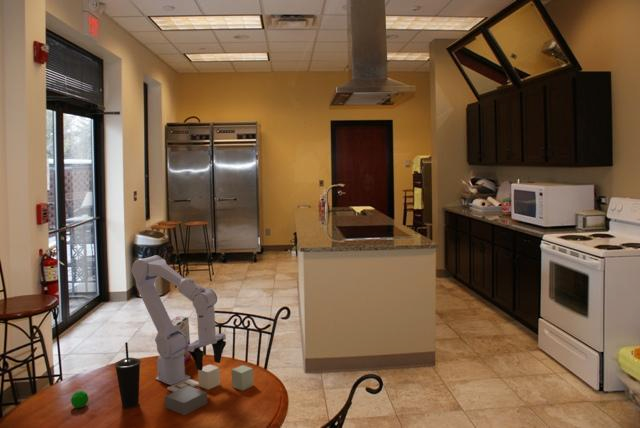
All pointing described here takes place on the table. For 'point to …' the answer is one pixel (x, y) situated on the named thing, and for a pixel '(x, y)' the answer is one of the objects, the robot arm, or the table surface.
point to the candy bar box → (184, 327)
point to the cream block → (209, 377)
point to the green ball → (79, 399)
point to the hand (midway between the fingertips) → (208, 365)
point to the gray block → (185, 400)
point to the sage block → (242, 377)
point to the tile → (183, 385)
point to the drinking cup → (128, 380)
